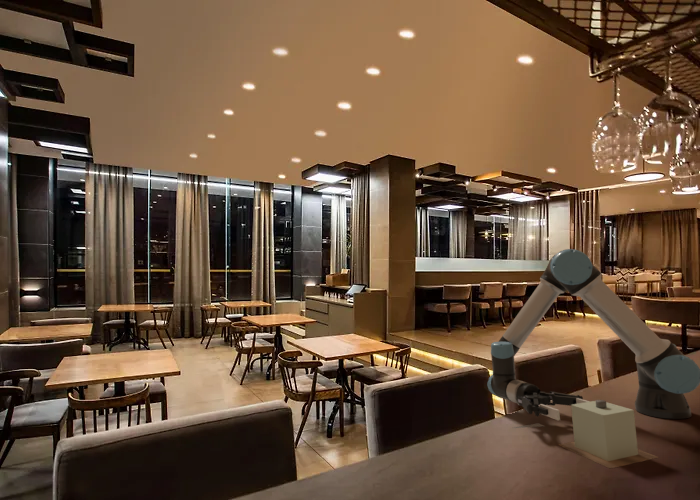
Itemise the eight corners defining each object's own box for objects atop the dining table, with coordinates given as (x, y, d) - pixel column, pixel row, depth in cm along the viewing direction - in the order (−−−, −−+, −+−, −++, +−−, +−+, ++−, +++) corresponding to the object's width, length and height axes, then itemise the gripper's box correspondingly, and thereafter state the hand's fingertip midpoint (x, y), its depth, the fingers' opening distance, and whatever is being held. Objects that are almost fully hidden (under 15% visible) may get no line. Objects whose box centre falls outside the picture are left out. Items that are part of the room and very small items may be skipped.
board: (602, 440, 116) (602, 435, 116) (659, 462, 101) (659, 457, 101) (557, 449, 112) (557, 444, 112) (610, 473, 96) (609, 468, 97)
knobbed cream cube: (603, 440, 113) (598, 394, 114) (638, 454, 103) (632, 403, 104) (574, 446, 110) (570, 398, 111) (608, 461, 100) (602, 408, 101)
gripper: (555, 400, 138) (612, 419, 118) (493, 410, 131) (543, 432, 111) (553, 378, 139) (609, 392, 119) (491, 386, 131) (540, 404, 111)
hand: (577, 411), depth 115 cm, fingers open, 13 cm apart
